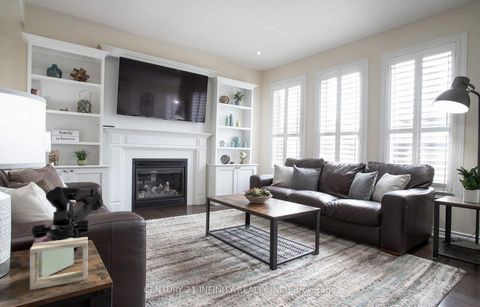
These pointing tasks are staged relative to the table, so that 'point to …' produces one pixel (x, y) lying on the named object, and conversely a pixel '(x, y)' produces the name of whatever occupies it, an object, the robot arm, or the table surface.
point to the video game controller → (42, 240)
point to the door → (55, 260)
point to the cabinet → (60, 278)
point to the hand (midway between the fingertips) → (60, 248)
